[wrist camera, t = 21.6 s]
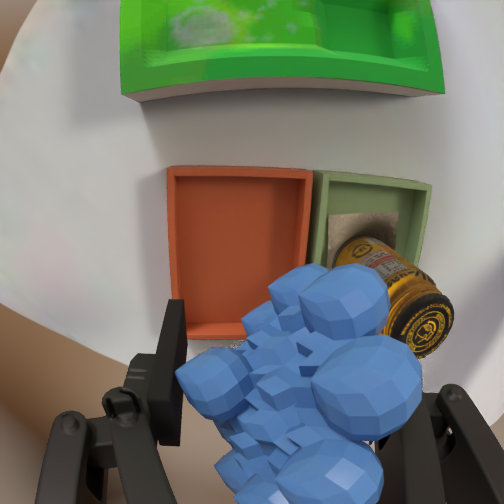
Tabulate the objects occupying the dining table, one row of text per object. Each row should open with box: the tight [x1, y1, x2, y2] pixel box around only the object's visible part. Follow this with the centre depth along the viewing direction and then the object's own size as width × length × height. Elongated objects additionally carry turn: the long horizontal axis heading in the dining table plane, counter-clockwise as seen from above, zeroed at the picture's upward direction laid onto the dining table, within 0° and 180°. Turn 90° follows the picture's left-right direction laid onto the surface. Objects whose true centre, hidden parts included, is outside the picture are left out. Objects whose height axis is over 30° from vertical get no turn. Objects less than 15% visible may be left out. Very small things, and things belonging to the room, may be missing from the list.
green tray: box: [305, 170, 432, 268], centre depth 28 cm, size 11×15×2 cm
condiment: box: [327, 212, 454, 359], centre depth 23 cm, size 7×8×12 cm
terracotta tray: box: [167, 166, 313, 340], centre depth 26 cm, size 11×15×2 cm
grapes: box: [174, 263, 422, 504], centre depth 11 cm, size 12×7×12 cm, turn 159°
